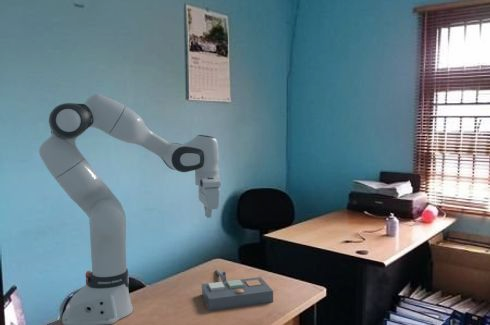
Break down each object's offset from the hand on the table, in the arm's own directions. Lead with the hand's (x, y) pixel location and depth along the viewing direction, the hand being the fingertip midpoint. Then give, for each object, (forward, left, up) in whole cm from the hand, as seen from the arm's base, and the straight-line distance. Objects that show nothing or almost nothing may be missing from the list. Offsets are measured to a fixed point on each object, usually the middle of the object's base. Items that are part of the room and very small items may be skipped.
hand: (208, 216), depth 155 cm
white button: (+1, -5, -27) cm, 28 cm away
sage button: (+8, -5, -27) cm, 29 cm away
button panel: (+8, -7, -29) cm, 31 cm away
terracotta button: (+15, -5, -28) cm, 32 cm away
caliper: (+7, +13, -30) cm, 33 cm away
